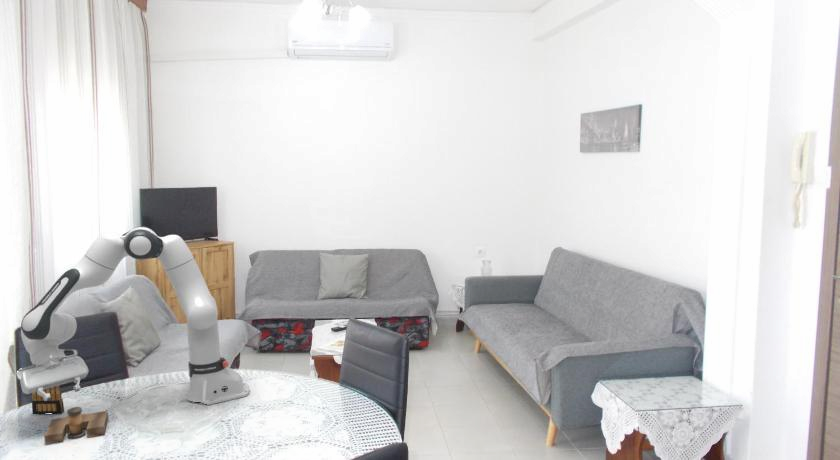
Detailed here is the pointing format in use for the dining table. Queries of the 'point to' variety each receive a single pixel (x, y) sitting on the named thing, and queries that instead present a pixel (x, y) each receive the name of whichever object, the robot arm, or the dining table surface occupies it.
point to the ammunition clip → (48, 402)
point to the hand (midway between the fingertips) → (63, 395)
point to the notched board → (90, 422)
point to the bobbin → (75, 423)
